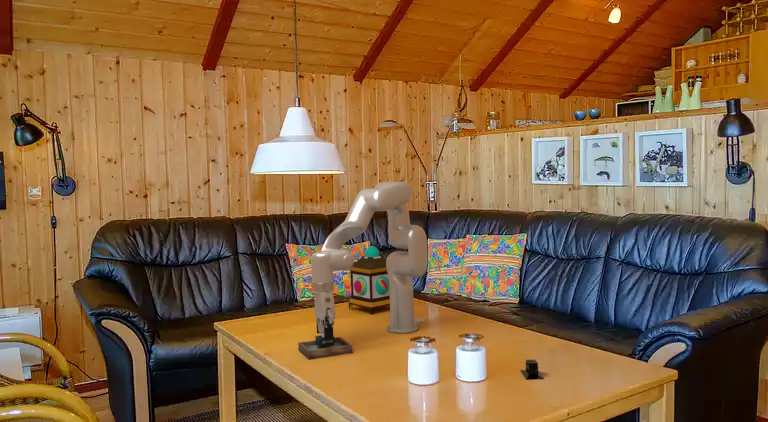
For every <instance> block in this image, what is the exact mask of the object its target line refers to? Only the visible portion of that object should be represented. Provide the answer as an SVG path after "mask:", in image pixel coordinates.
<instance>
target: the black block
mask: <svg viewBox="0 0 768 422" xmlns="http://www.w3.org/2000/svg"><path fill="white" fill-rule="evenodd" d="M519 371H520V372H521V375H522V376H523V377H524V379H525V380H527V381H531V380H532V381H533V380H537V379H538V380H545V378H544V376H543V375H542V374H541V372H540V371H539V363H538V361H537V360H536V359H526V360H525V369H519ZM538 380H537V381H538Z"/></svg>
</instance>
